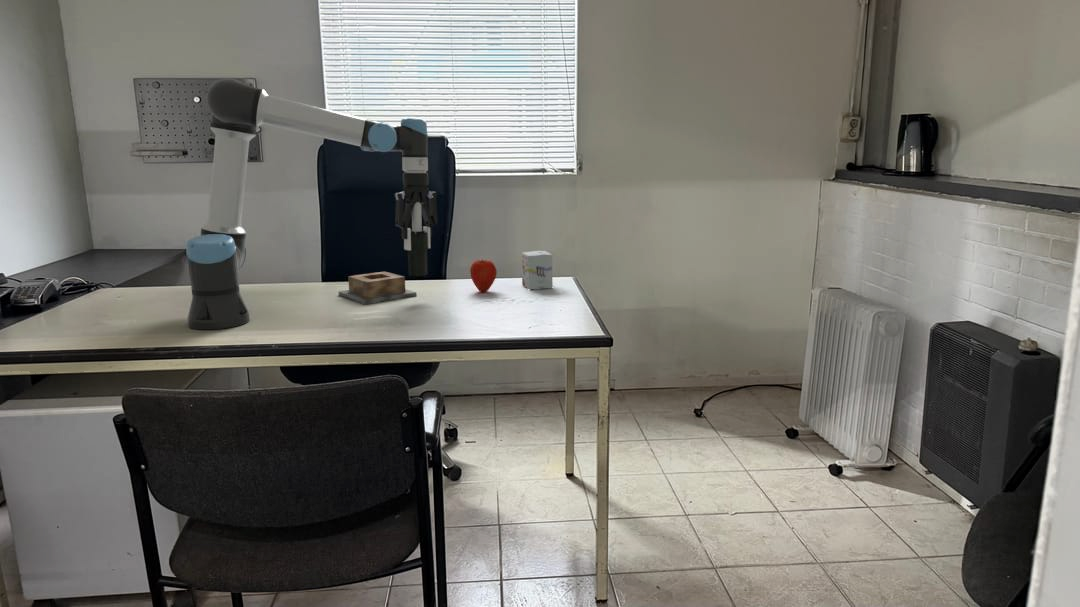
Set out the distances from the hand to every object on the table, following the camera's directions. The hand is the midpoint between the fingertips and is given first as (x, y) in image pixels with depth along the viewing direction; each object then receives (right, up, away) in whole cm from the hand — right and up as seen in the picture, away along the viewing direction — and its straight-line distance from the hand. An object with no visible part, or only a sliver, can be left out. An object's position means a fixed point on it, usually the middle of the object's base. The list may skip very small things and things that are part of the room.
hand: (417, 248), depth 209 cm
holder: (-15, -14, +10) cm, 23 cm away
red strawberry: (+19, -13, +16) cm, 28 cm away
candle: (0, -8, +2) cm, 8 cm away
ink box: (+36, -11, +23) cm, 44 cm away
